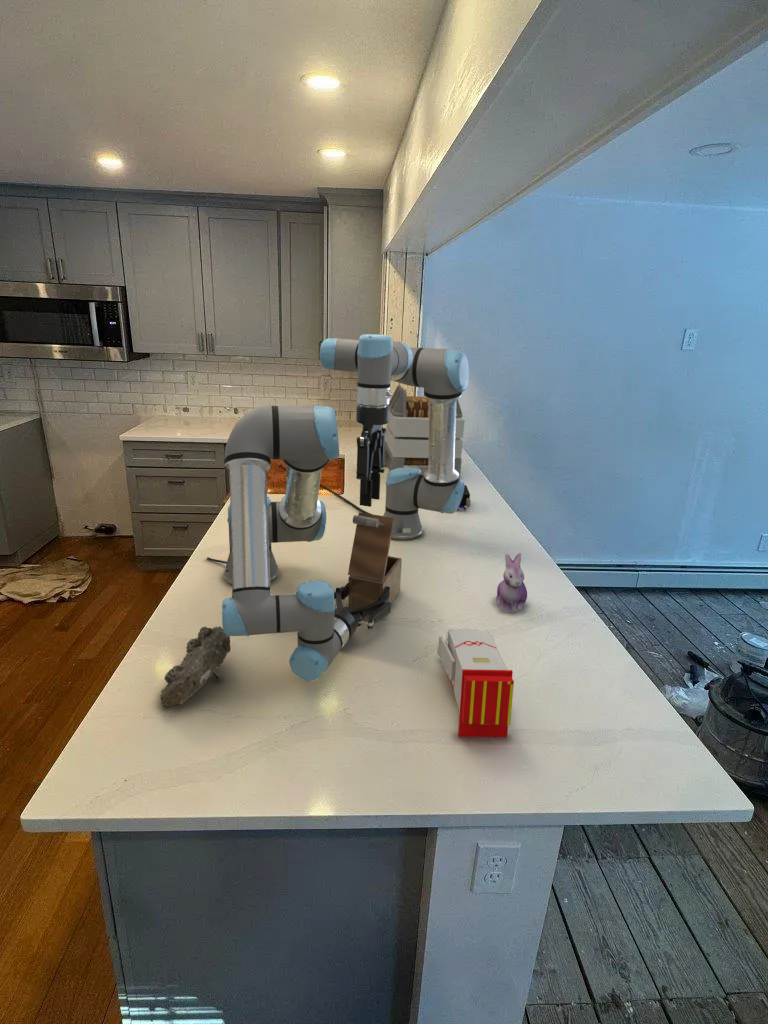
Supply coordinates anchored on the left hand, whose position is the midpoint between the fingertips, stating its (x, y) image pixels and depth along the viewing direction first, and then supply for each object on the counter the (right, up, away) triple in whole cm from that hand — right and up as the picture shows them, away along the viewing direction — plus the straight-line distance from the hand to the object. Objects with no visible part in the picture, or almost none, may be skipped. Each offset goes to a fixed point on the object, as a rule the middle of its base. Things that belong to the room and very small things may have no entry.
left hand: (370, 587), depth 147 cm
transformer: (+21, +39, +128) cm, 135 cm away
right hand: (0, +22, -10) cm, 24 cm away
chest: (+1, -4, +6) cm, 7 cm away
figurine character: (+35, +22, +83) cm, 93 cm away
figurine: (+38, -6, +7) cm, 39 cm away
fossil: (-35, -15, -28) cm, 47 cm away
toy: (+22, -18, -29) cm, 40 cm away
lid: (+1, +11, -4) cm, 12 cm away
